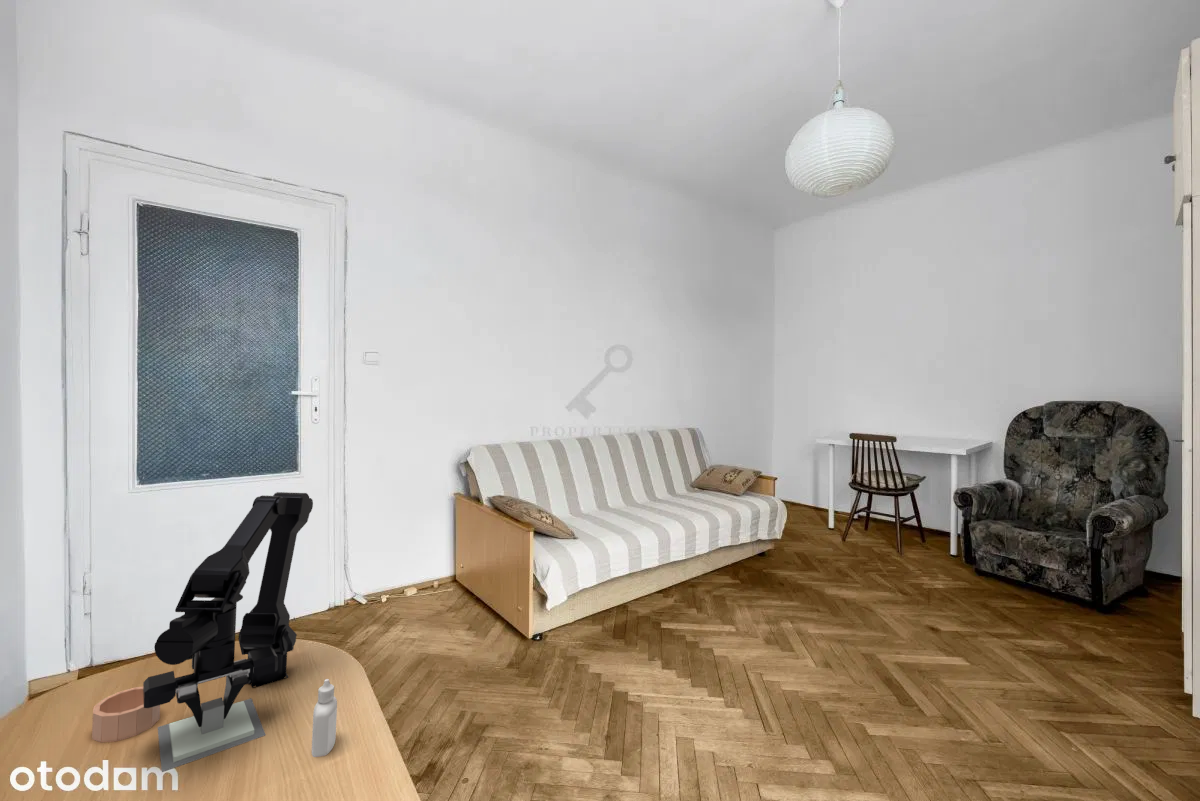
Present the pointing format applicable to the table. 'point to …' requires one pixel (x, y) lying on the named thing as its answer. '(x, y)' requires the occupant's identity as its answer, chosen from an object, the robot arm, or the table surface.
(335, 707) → the eye dropper bottle
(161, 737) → the mat
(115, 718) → the bowl
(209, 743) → the lid
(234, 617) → the robot arm
